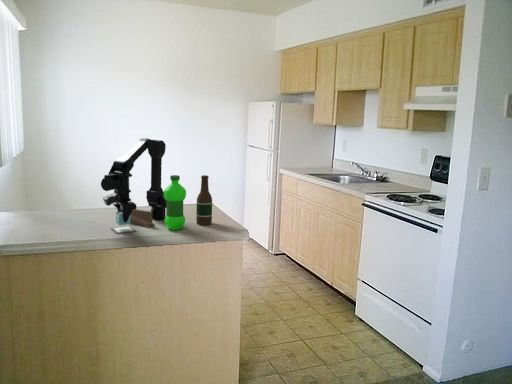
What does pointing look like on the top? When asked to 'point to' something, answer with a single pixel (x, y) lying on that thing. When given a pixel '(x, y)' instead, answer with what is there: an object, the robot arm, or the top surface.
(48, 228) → the top surface
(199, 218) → the beer bottle
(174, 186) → the plastic bottle
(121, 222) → the letter cube
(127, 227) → the pad
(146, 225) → the brown wooden block
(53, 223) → the top surface
